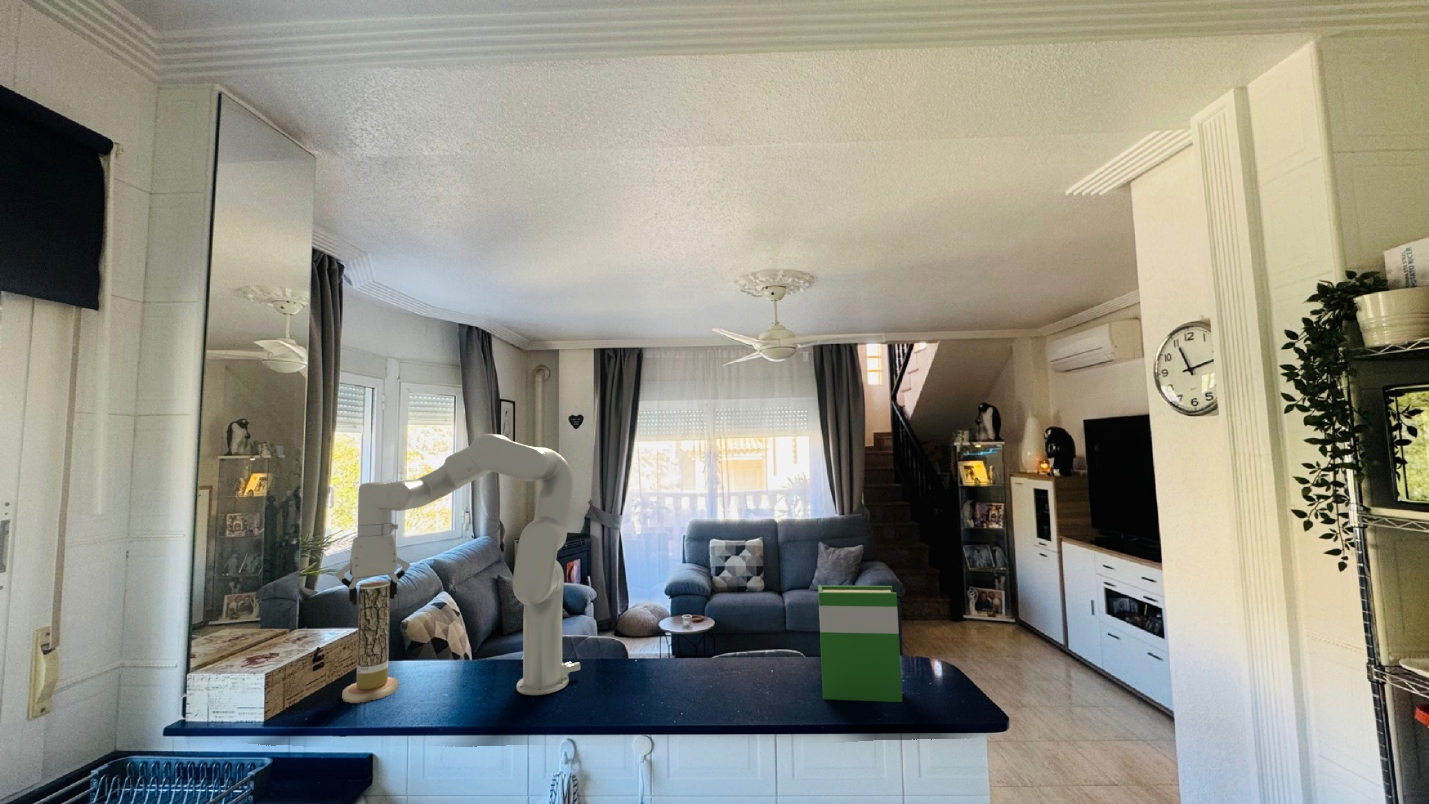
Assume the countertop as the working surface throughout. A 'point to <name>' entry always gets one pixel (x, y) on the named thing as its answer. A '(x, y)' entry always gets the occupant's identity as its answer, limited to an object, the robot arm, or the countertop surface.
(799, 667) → the countertop surface
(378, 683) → the paper tube
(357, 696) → the plate
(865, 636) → the hardback book
